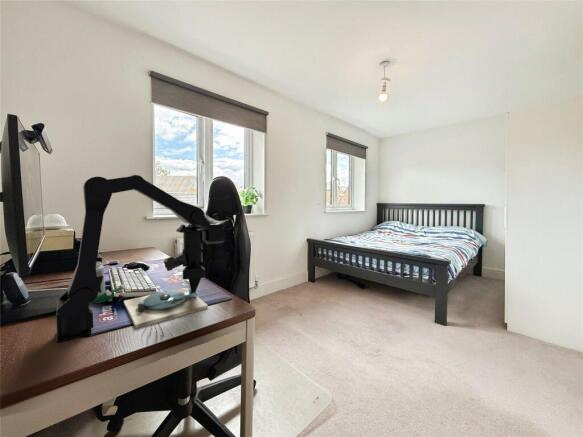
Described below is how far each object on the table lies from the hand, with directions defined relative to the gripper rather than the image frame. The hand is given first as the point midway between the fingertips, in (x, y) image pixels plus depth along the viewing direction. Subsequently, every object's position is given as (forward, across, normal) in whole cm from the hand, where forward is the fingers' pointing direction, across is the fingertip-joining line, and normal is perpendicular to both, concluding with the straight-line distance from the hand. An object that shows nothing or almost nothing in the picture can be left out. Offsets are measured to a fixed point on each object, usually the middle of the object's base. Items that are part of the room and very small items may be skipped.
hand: (193, 292), depth 82 cm
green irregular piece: (+4, -13, -26) cm, 29 cm away
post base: (+4, -1, -8) cm, 9 cm away
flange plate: (+2, -1, -7) cm, 8 cm away
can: (+4, -16, -32) cm, 36 cm away
